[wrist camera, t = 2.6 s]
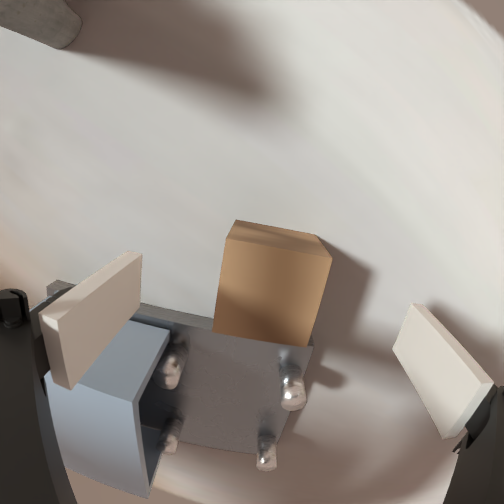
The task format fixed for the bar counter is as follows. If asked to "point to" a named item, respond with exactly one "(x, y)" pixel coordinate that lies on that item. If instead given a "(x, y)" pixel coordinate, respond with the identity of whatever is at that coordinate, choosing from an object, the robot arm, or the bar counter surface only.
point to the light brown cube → (270, 284)
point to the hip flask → (41, 20)
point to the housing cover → (111, 412)
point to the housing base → (218, 386)
